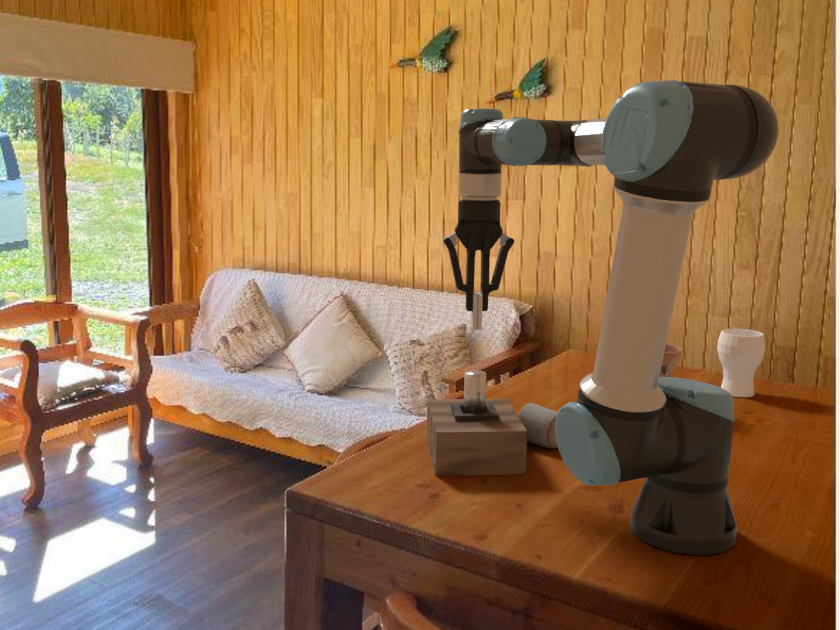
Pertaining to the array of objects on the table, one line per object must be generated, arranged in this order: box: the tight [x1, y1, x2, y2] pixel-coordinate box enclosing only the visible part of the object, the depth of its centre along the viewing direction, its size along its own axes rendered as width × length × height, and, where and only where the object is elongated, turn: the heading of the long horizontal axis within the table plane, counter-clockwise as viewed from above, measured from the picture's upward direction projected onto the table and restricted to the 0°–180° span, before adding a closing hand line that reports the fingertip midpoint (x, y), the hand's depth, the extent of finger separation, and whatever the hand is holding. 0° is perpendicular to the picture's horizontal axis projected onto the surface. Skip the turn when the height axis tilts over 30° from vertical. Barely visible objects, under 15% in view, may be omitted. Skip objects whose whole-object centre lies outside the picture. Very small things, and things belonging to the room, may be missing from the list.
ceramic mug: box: [517, 402, 558, 450], centre depth 161 cm, size 11×8×8 cm
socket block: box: [426, 398, 528, 477], centre depth 153 cm, size 20×16×9 cm
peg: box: [463, 369, 487, 413], centre depth 152 cm, size 4×4×8 cm
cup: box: [716, 328, 766, 398], centre depth 197 cm, size 11×11×15 cm
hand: (476, 328), depth 150 cm, fingers closed
